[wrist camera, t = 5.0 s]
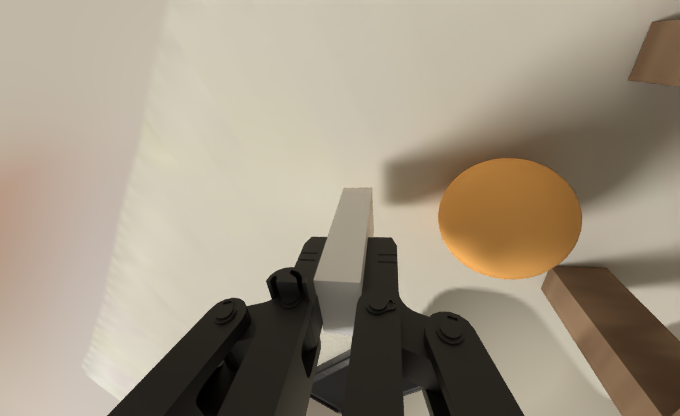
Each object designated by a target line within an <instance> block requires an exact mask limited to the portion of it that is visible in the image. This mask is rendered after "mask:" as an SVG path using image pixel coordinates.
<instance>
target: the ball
mask: <svg viewBox="0 0 680 416" xmlns="http://www.w3.org/2000/svg"><path fill="white" fill-rule="evenodd" d="M438 222H439V229H440V232H441V235H442V238H443V240H444V242H445V244H446V246H447V247H448V249H449V250H450V251H451V253H452V254H453V255H454V256H455V257H456V258H457V259H458V260H459V261H460V262H462V263H463V264H464V265H466V266H467V267H469V268H471V269H472V270H474V271H476V272H478V273H481V274H484V275H487V276H490V277H494V278H500V279H523V278H529V277H533V276H537V275H540V274H542V273H544V272H547V271H549V270H550V269H552V268H554V267H555V266H557V265H558V264H560V263H561V262H562V261H563V260H564V259H565V258H566V257H567V256H568V255H569V254H570V252H571V251H572V250H573V248H574V247H575V245H576V243H577V241H578V238H579V235H580V232H581V226H582V213H581V208H580V205H579V202H578V199H577V197H576V195H575V193H574V191H573V190H572V188H571V187H570V186H569V184H568V183H567V182H566V181H565V180H564V179H563V178H562V177H560V176H559V175H558V174H557V173H556V172H554V171H553V170H551V169H549V168H547V167H545V166H543V165H541V164H539V163H536V162H533V161H529V160H524V159H518V158H499V159H492V160H488V161H484V162H481V163H479V164H476V165H474V166H472V167H470V168H468V169H467V170H465V171H464V172H462V173H461V174H460V175H459V176H457V177H456V178H455V179H454V180H453V181H452V183H451V184H450V185H449V186H448V188H447V189H446V191H445V193H444V195H443V197H442V199H441V202H440V206H439V213H438Z"/></svg>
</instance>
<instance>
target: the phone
mask: <svg viewBox="0 0 680 416" xmlns="http://www.w3.org/2000/svg"><path fill="white" fill-rule="evenodd" d="M350 352H351V349H350V350H348V351H346V352H344V353H342V354H340V355H338V356H336V357H334V358H333V359H331V360H329V361H327V362H325V363H323V364H321V365H319V366H317V367H316V372H315V376H314V381H313V385H312V389H311V394H310V398H312V399H314V400H316V401H317V402H319V403H321V404H323V405H325V406H326V407H328V408H330V409H331V410H333V411H335V412H337V413H340V414H342V413H343V405H344V397H345V390H346V382H347V375H348V367H349V359H350ZM420 390H422V389H421V386H419V385H417V384H415V383H413V382H410V381H408V380H406V379H404V378H403V396H405V395H408V394H411V393H414V392H417V391H420Z"/></svg>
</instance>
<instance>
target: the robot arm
mask: <svg viewBox="0 0 680 416" xmlns="http://www.w3.org/2000/svg"><path fill="white" fill-rule="evenodd" d="M373 233H374V225H373V199H372V188H344V189H343V192H342V195H341V198H340V201H339V204H338V207H337V210H336V213H335V216H334V219H333V222H332V225H331V228H330V231H329V234H328V237H311V238H310V239H309V240H308V241H307V242H306V243H305V244H304V246H303V249H302V251H301V254H300V255H299V258H298V261H297V262H296V265H295V267H289V268H283V269H280V270H278V271H276V272H274V273H273V274H272V275H270V277H269V278H268V279H267V280H266V283H267V286H268V289H269V292H270V295H271V298H272V300H270V301H267V302H264V303H260V304H255V305H250V306H246V304H245V302H244V301H243V300H241V299H239V298H230V299H225V300H223V301H221V302H219V303H217V304H216V305H215V306H213V307H212V308H211V309H210V310H209V311H208V312H207V313H206V314H205V315H204V316H203V317H202V318H201V319H200V320H199V321H198V322H197V323H196V324H195V325H194V327H193V328H192V329H191V330H190V331H189V332H188V333H187V334H186V335H185V336H184V337H183V338H182V339H181V340H180V341H179V342H178V343H177V344H176V345H175V346H174V347H173V348H172V349H171V350H170V351H169V352H168V353H167V354H166V355H165V356H164V358H163V359H162V360H161V361H160V362H159V363H158V364H157V365H156V366H155V367H154V368H153V369H152V370H151V371H150V372H149V373H148V374H147V375H146V376H145V377H144V378H143V379H142V380H141V381H140V382H139V383H138V384H137V385H136V386H135V388H134V389H133V390H132V391H131V392H130V393H129V394H128V395H127V396H126V397H125V398H124V399H123V400H122V401H121V402H120V403H119V404H118V405H117V406H116V407H115V408H114V409H113V410H112V411H111V412H110V414H109V415H107V416H306V411H307V407H308V402H309V398H310V394H311V389H312V385H313V381H314V376H315V372H316V367H317V363H318V359H319V354H320V350H321V341H320V333H321V329H322V325H323V330H324V333H326V334H337V335H348V336H352V344H351V352H350V359H349V367H348V375H347V382H346V390H345V397H344V405H343V413H342V416H404V405H403V378H404V379H406V380H408V381H410V382H413V383H415V384H417V385H419V386H421V389H422V392H423V395H424V398H425V401H426V404H427V408H428V411H429V414H430V416H524V414H523V412H522V411H521V409H520V407H519V406H518V404H517V402H516V400H515V399H514V397H513V395H512V393H511V392H510V390H509V388H508V387H507V385H506V383H505V381H504V380H503V378H502V376H501V375H500V373H499V371H498V369H497V368H496V366H495V364H494V362H493V361H492V359H491V357H490V355H489V354H488V352H487V350H486V349H485V347H484V345H483V343H482V342H481V340H480V338H479V337H478V335H477V333H476V331H475V330H474V328H473V327H472V326H471V325H470V323H469V322H468V321H467V320H465V319H464V318H462V317H461V316H460V315H457V314H454V313H451V312H438V313H434V314H432V315H431V316H430V317H428V316H425V315H422V314H419V313H417V312H415V311H413V310H411V309H409V308H408V307H407V306H406V305H405V304H404V303H403V302H402V300H401V299H400V297H399V292H398V266H397V245H396V244H395V242H394V241H393V239H392V238H385V237H373Z"/></svg>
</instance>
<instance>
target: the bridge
mask: <svg viewBox="0 0 680 416" xmlns="http://www.w3.org/2000/svg"><path fill="white" fill-rule="evenodd" d="M628 80H631V81H639V82H647V83H655V84H663V85H671V86H679V87H680V19H677V20H668V21H659V22H652V24H651V26H650V29H649V31H648V33H647V36H646V38H645V41H644V43H643V45H642V48H641V50H640V53H639V55H638V57H637V60H636V62H635V65H634V67H633V69H632V72H631V74H630V77H629V79H628ZM541 290H542V291H543V293H544V294H545V296H546V297H547V299H548V301H549V302H550V304H551V305H552V307H553V308H554V310H555V312H556V313H557V315H558V316H559V318H560V319H561V321H562V322H563V324H564V326H565V327H566V329H567V330H568V332H569V333H570V335H571V337H572V338H573V340H574V341H575V343H576V344H577V346H578V348H579V349H580V351H581V352H582V354H583V355H584V357H585V358H586V360H587V362H588V363H589V365H590V366H591V368H592V369H593V371H594V373H595V374H596V376H597V377H598V379H599V380H600V382H601V384H602V385H603V387H604V388H605V390H606V391H607V393H608V395H609V396H610V398H611V399H612V401H613V402H614V404H615V405H616V407H617V408H618V410H619V412H620V413H621V415H622V416H680V341H679V340H678V339H677V338H676V337H675V336H674V335H673V334H672V333H671V332H670V331H669V330H668V329H667V328H666V327H665V326H664V325H663V324H662V323H661V322H660V321H659V320H658V319H657V318H656V317H655V316H654V315H653V314H652V313H651V312H650V311H649V310H648V309H647V308H646V307H645V306H644V305H643V304H642V303H641V302H640V301H639V300H638V299H637V298H636V297H635V296H634V295H633V294H632V293H631V292H630V291H629V290H628V289H627V288H626V287H625V286H624V285H623V284H622V283H621V282H620V281H619V280H618V279H617V278H616V277H615V276H614V275H613V274H612V273H611V272H610V271H609V270H608V269H607V268H583V267H554V268H552V269H550V270H549V271H548V273H547V276H546V278H545V281H544V283H543V285H542V288H541Z"/></svg>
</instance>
